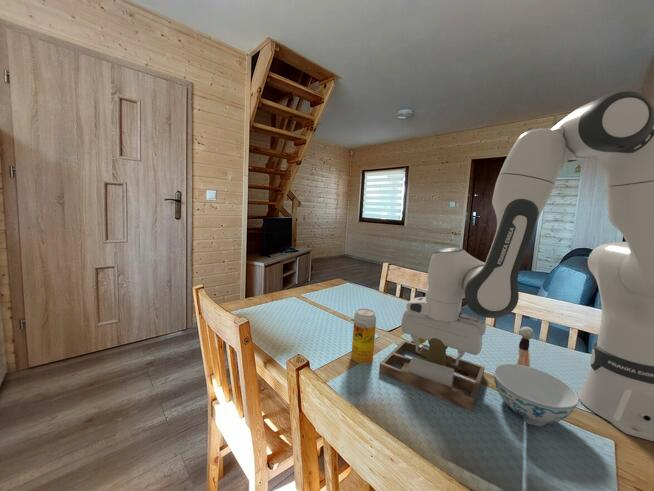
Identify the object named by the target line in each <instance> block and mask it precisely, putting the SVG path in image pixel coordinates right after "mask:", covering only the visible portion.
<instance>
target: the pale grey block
mask: <svg viewBox="0 0 654 491" xmlns="http://www.w3.org/2000/svg"><path fill="white" fill-rule="evenodd" d="M408 367H409V364H408V363H404V365H403V367H402V366H401V368H400V370H403V371H405V372H408ZM410 374H411V373H410ZM413 375H414V374H413ZM415 376H417V375H415ZM418 377H420V376H418ZM420 378H423V377H420ZM423 379H426V378H423ZM426 380H428V381H431V382H433V383H436V384H438V385H441V386H443V387H446V388H448V389H451V390H452V388H453V387H454V386H453V382H454V378H453V381H452V385H451V386H448V385H445V384H442V383H438V382H435V381H432V380H429V379H426Z"/></svg>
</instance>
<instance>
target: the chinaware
mask: <svg viewBox="0 0 654 491" xmlns="http://www.w3.org/2000/svg"><path fill="white" fill-rule="evenodd" d="M493 376H494V377H493V379H494V383H495V387H496V390H497V392H498V395H499V396H500V397H501V400H503V402H504V403H505V404H506V405H507V406H508V408H509V409H511V410H512V411H513V412H515V413H516V414H517V415H519V416H521V417H523V420H522V421H523V422H524V423H526V424H529V425H531V426H535V427H536V426H537V427H542V426H545V425H546V424H553V423H557V422H560V421H563V420H565V419H567V418H568V417H569V416H570V415H572V413H573V412H574V411H575V409H576V408H577V406H578V404H579V401H580V399H579V398H578V395H577V394H578V393H576V391H575V390H574V389H573V388H572V387H571V386H569V385H568V384H567V383H566V382H565V381H563V380H561V379H559V378H558V377H555V376H554V375H552V374H550V373H547V372H545V371H543V370H541V369H537V368H534V367H531V366H530V367H528V366H523V365H517V363H503V364H500V365H497V366H496V367H495V368H494V370H493Z"/></svg>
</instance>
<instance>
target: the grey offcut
mask: <svg viewBox="0 0 654 491" xmlns="http://www.w3.org/2000/svg"><path fill="white" fill-rule="evenodd" d="M410 359H411V361H410V363H409V367H408V373H411V374H414V375H417V376H420V377H423V378H426V379H429V380H432V381H435V382H438V383H442V384H445V385H448V386H451V385H452V381H453V376H454V375H455V369H454V368H452V367H449V366H446V367H445V366H442V365H439V364H435V363H432V362H429V361H426V359H421V358H418V357H415V356H412V357H411V358H410Z"/></svg>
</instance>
